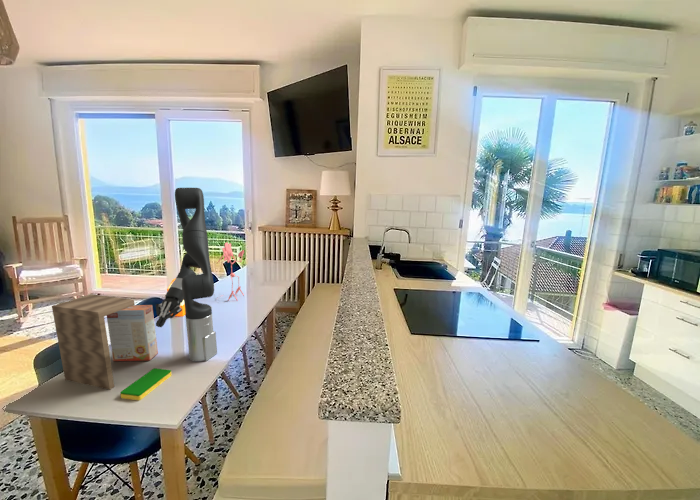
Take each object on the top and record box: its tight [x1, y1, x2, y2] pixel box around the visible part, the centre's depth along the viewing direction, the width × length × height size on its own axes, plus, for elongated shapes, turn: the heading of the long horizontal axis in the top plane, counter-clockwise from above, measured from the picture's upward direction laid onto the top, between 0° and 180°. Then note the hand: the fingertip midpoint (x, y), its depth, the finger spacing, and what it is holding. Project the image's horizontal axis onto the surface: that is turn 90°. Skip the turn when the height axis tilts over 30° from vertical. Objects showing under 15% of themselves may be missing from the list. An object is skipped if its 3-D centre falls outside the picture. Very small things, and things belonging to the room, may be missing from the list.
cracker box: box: [106, 304, 159, 362], centre depth 117 cm, size 14×6×21 cm, turn 92°
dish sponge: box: [120, 368, 173, 401], centre depth 101 cm, size 7×14×2 cm, turn 171°
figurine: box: [216, 241, 245, 302], centre depth 184 cm, size 15×26×35 cm, turn 175°
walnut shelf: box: [51, 293, 135, 391], centre depth 105 cm, size 20×12×27 cm, turn 76°
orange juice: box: [166, 277, 185, 317], centre depth 161 cm, size 8×9×20 cm
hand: (158, 326), depth 128 cm, fingers closed
